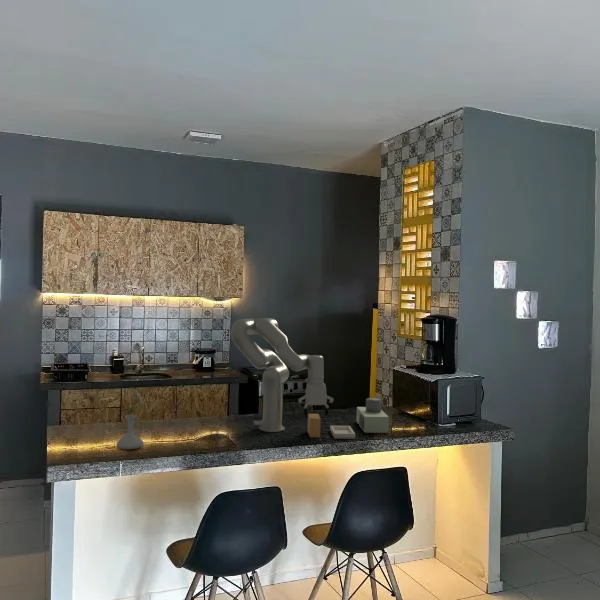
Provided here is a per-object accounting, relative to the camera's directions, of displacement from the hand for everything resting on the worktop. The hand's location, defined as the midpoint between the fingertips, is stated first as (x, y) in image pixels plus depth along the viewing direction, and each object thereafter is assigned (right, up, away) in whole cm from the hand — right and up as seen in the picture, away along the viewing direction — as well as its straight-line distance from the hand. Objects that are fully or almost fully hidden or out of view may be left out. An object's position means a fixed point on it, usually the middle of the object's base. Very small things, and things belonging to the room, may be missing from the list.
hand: (316, 416), depth 294 cm
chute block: (-1, -9, 0) cm, 9 cm away
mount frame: (+13, -9, +2) cm, 16 cm away
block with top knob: (+29, -10, +20) cm, 37 cm away
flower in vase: (-81, -7, -33) cm, 87 cm away
